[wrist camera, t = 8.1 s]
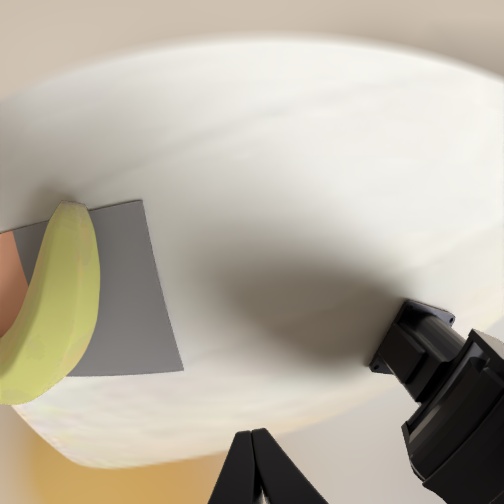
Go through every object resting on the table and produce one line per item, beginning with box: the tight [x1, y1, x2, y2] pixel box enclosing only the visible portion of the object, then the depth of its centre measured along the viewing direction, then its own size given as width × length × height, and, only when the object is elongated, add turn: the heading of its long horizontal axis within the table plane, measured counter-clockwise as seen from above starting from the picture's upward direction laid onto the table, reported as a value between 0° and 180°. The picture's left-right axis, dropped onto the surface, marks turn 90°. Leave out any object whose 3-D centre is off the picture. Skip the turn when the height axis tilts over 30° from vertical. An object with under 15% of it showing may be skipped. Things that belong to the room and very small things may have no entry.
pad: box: [0, 230, 29, 337], centre depth 18 cm, size 8×12×1 cm, turn 7°
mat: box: [13, 200, 184, 376], centre depth 18 cm, size 10×12×1 cm
